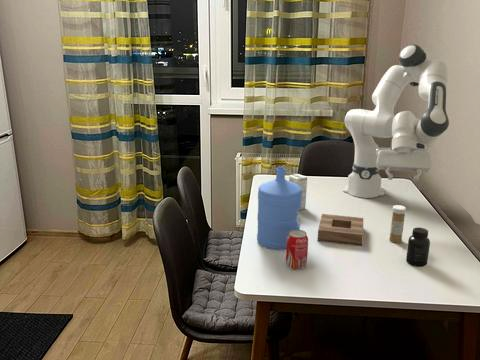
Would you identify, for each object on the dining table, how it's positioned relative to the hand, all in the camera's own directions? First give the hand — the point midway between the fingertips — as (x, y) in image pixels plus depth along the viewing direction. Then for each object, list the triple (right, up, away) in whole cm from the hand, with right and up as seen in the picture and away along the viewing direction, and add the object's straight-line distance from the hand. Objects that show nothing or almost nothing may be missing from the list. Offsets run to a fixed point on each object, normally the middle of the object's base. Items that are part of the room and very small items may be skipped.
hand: (403, 179), depth 185 cm
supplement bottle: (-3, -28, -21) cm, 35 cm away
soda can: (-44, -29, -24) cm, 58 cm away
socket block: (-24, -21, -1) cm, 32 cm away
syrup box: (-38, -12, +25) cm, 47 cm away
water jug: (-48, -23, -7) cm, 54 cm away
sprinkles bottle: (-5, -23, -5) cm, 24 cm away
